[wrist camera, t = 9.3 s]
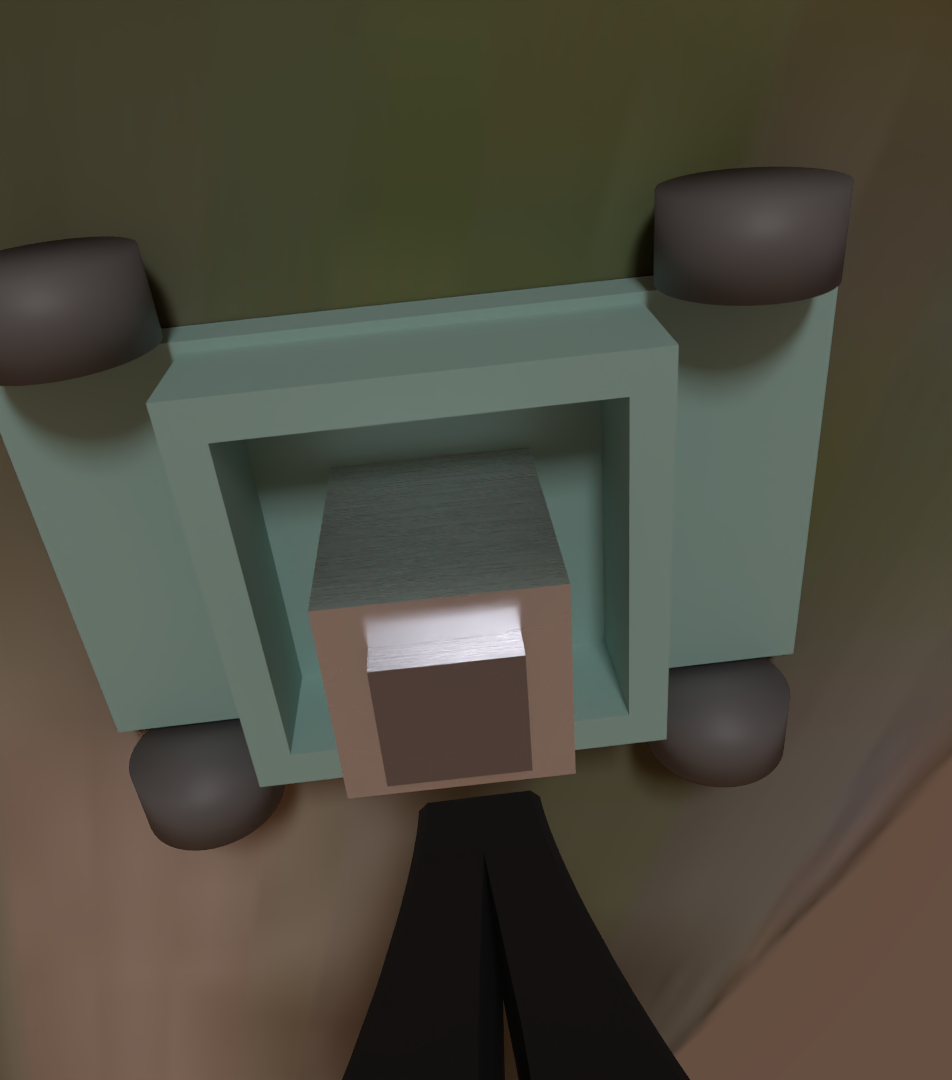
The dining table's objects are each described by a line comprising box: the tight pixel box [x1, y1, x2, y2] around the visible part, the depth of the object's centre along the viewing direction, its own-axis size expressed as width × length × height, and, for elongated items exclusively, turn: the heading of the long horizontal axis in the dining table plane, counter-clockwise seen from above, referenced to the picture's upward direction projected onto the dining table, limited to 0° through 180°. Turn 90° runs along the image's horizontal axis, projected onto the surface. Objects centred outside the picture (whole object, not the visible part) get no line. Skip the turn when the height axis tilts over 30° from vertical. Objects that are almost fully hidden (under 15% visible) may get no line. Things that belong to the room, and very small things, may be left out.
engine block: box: [308, 447, 576, 799], centre depth 16 cm, size 4×4×6 cm
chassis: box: [0, 167, 854, 851], centre depth 18 cm, size 16×13×4 cm
